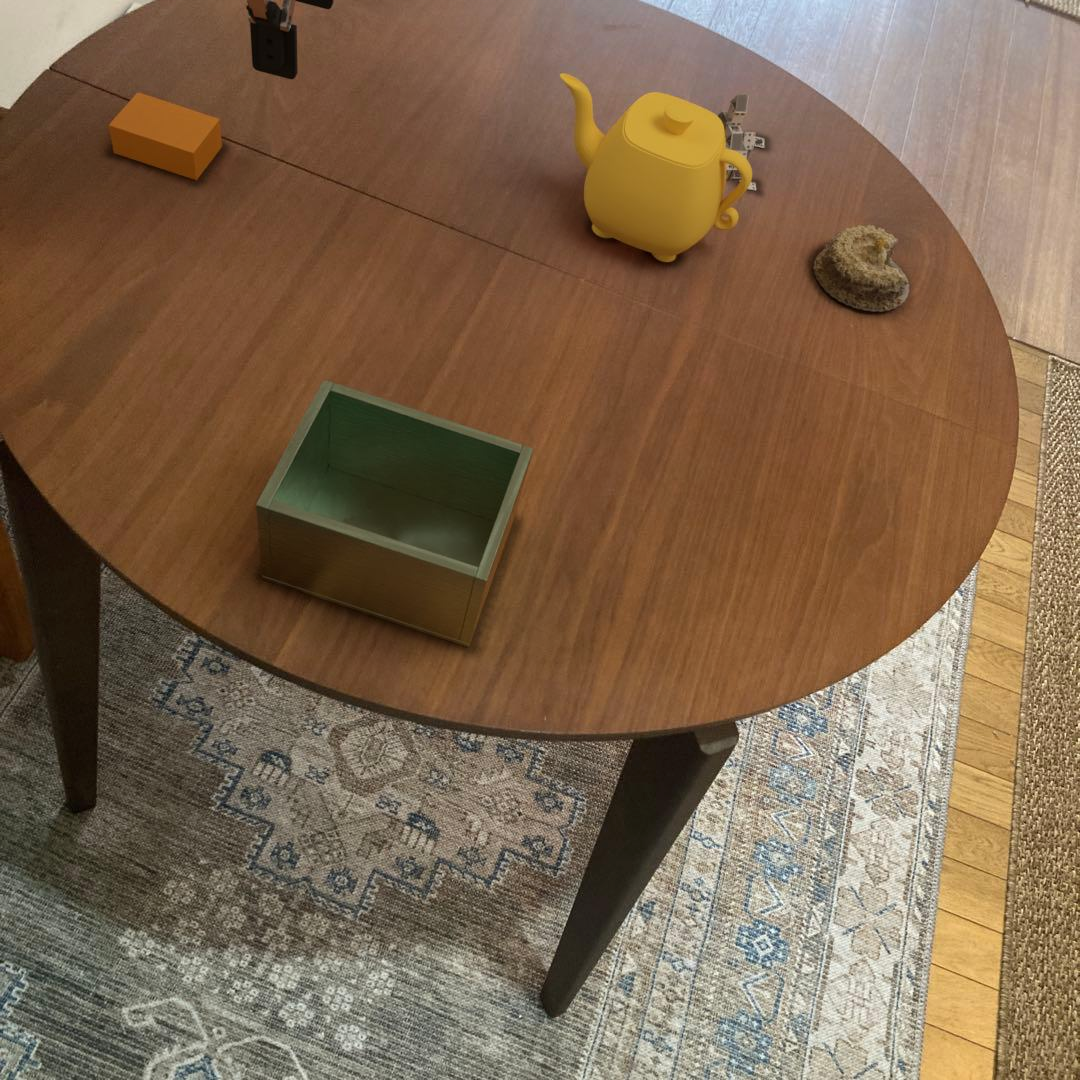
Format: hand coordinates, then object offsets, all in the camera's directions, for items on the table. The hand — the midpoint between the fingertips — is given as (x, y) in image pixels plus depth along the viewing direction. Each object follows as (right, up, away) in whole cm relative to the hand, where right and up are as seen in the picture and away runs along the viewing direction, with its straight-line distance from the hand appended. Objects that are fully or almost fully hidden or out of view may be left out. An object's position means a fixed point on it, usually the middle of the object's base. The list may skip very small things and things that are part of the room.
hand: (294, 36), depth 79 cm
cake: (+51, -12, +26) cm, 58 cm away
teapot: (+28, -6, +25) cm, 37 cm away
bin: (+8, -39, -1) cm, 40 cm away
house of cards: (+40, +2, +33) cm, 52 cm away
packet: (-16, -2, +18) cm, 24 cm away
